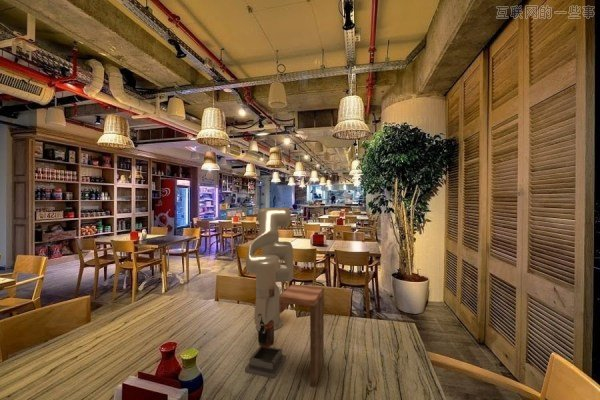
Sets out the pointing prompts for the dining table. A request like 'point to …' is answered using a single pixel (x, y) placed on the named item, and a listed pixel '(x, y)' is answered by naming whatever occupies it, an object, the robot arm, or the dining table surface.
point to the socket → (266, 362)
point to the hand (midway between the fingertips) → (266, 337)
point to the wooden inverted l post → (316, 302)
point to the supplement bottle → (268, 335)
